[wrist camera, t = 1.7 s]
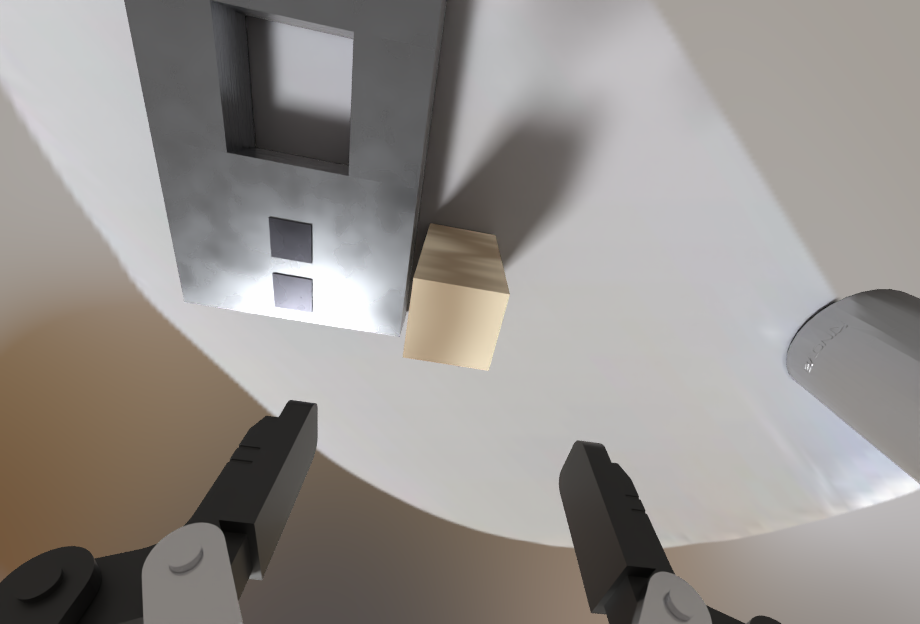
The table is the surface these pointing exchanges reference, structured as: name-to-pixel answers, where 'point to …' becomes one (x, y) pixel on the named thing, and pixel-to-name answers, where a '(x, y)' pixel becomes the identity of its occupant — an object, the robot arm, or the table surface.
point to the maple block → (456, 299)
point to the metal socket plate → (290, 160)
